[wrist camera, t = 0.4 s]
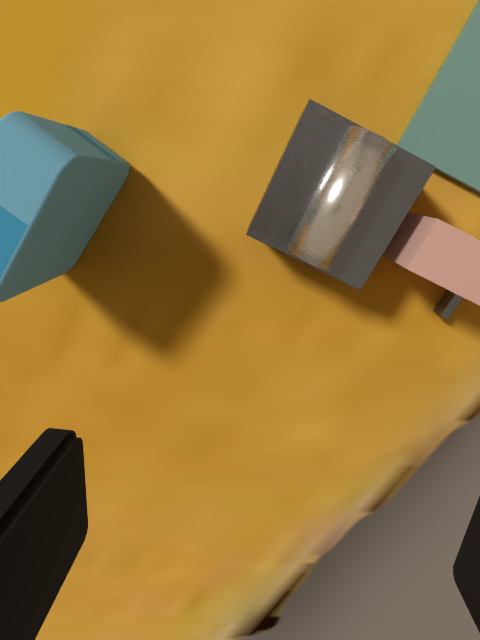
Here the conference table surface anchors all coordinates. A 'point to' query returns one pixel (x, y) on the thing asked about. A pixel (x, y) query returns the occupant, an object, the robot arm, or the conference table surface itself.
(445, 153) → the pad
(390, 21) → the conference table surface
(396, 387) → the conference table surface
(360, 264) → the dispenser
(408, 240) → the pink rectangular prism
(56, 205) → the data package
